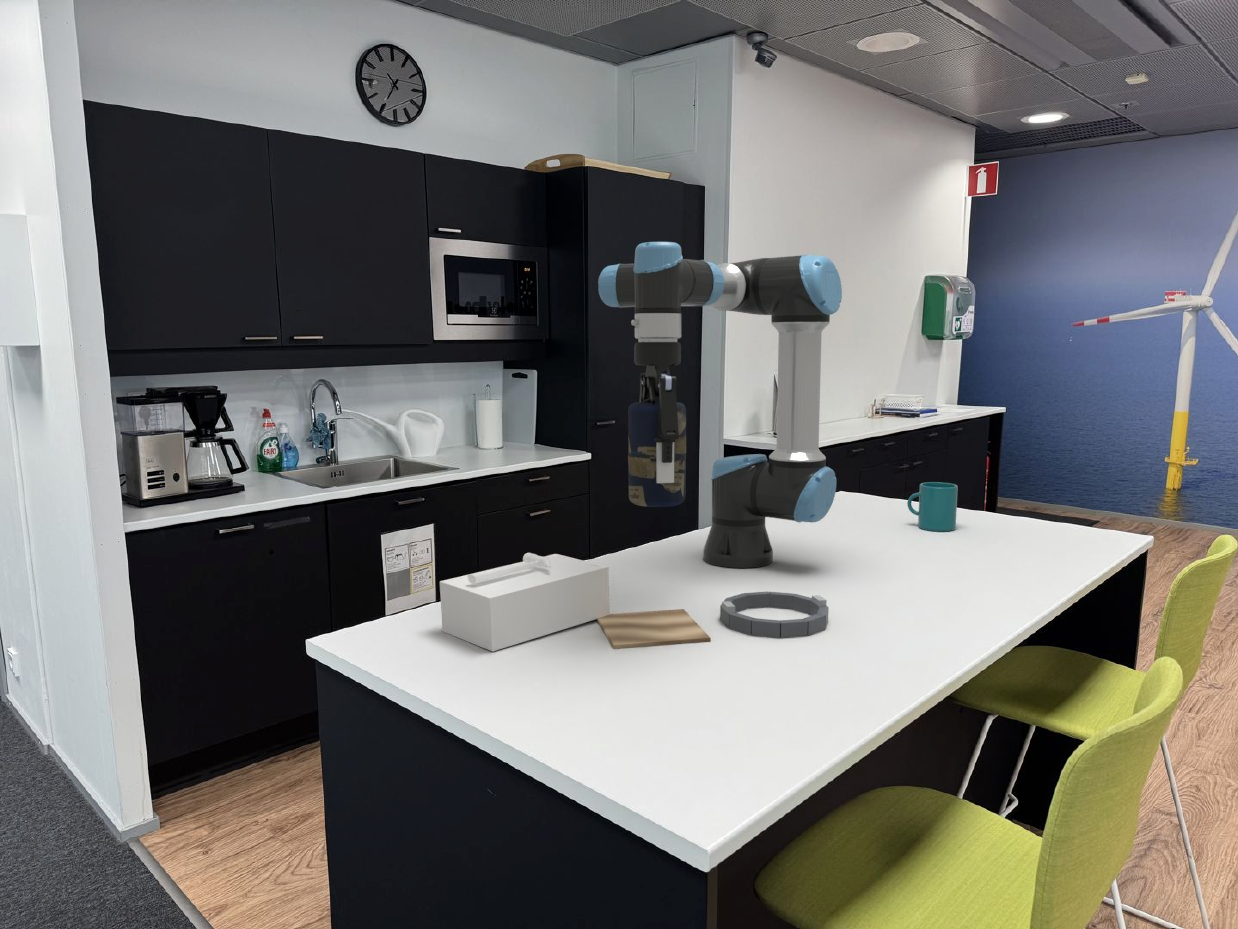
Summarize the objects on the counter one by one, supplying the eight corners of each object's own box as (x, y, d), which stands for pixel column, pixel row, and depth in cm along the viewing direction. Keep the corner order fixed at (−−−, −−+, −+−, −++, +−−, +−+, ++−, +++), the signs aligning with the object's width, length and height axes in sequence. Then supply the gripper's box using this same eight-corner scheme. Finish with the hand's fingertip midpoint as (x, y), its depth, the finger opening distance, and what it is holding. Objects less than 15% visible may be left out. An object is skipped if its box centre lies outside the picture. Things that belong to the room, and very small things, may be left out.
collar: (708, 608, 165) (708, 590, 164) (801, 602, 168) (802, 584, 168) (741, 641, 147) (742, 620, 147) (845, 633, 151) (845, 612, 150)
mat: (595, 618, 160) (595, 615, 159) (683, 612, 163) (683, 609, 163) (613, 648, 144) (613, 645, 144) (710, 641, 147) (710, 637, 147)
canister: (654, 512, 144) (655, 398, 141) (616, 504, 151) (616, 396, 148) (697, 505, 150) (698, 396, 147) (658, 498, 157) (659, 393, 155)
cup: (910, 522, 239) (912, 480, 238) (958, 526, 233) (960, 483, 232) (902, 528, 231) (904, 485, 230) (952, 533, 226) (954, 489, 224)
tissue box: (609, 614, 159) (608, 553, 158) (492, 651, 142) (489, 583, 141) (557, 598, 170) (555, 541, 168) (442, 631, 153) (438, 568, 151)
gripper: (619, 340, 157) (620, 469, 160) (652, 340, 135) (651, 489, 138) (662, 340, 158) (661, 467, 161) (700, 340, 137) (699, 487, 140)
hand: (656, 477), depth 150 cm, fingers closed on canister, 9 cm apart
